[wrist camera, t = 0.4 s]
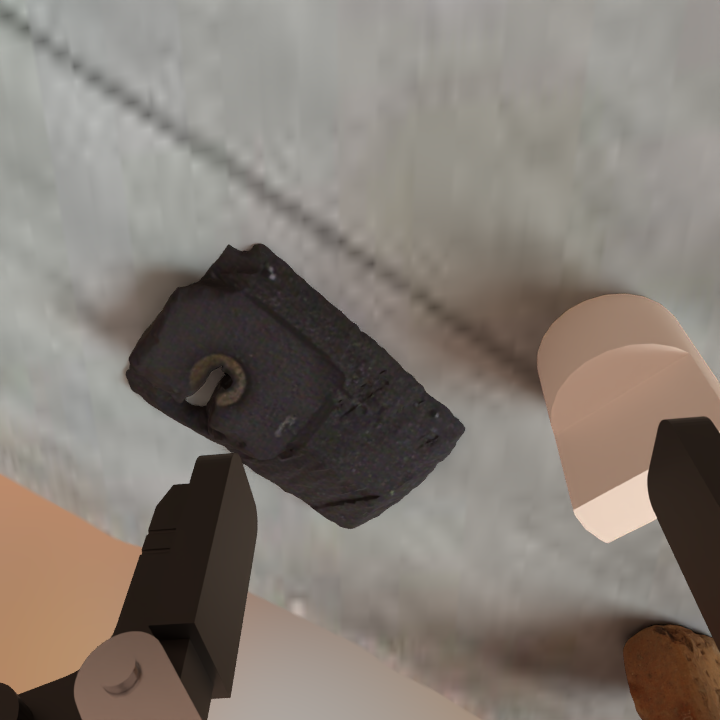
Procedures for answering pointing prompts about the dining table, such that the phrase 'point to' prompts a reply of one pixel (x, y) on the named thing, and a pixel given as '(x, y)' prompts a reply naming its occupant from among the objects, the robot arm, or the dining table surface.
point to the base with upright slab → (618, 402)
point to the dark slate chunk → (292, 388)
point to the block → (673, 674)
